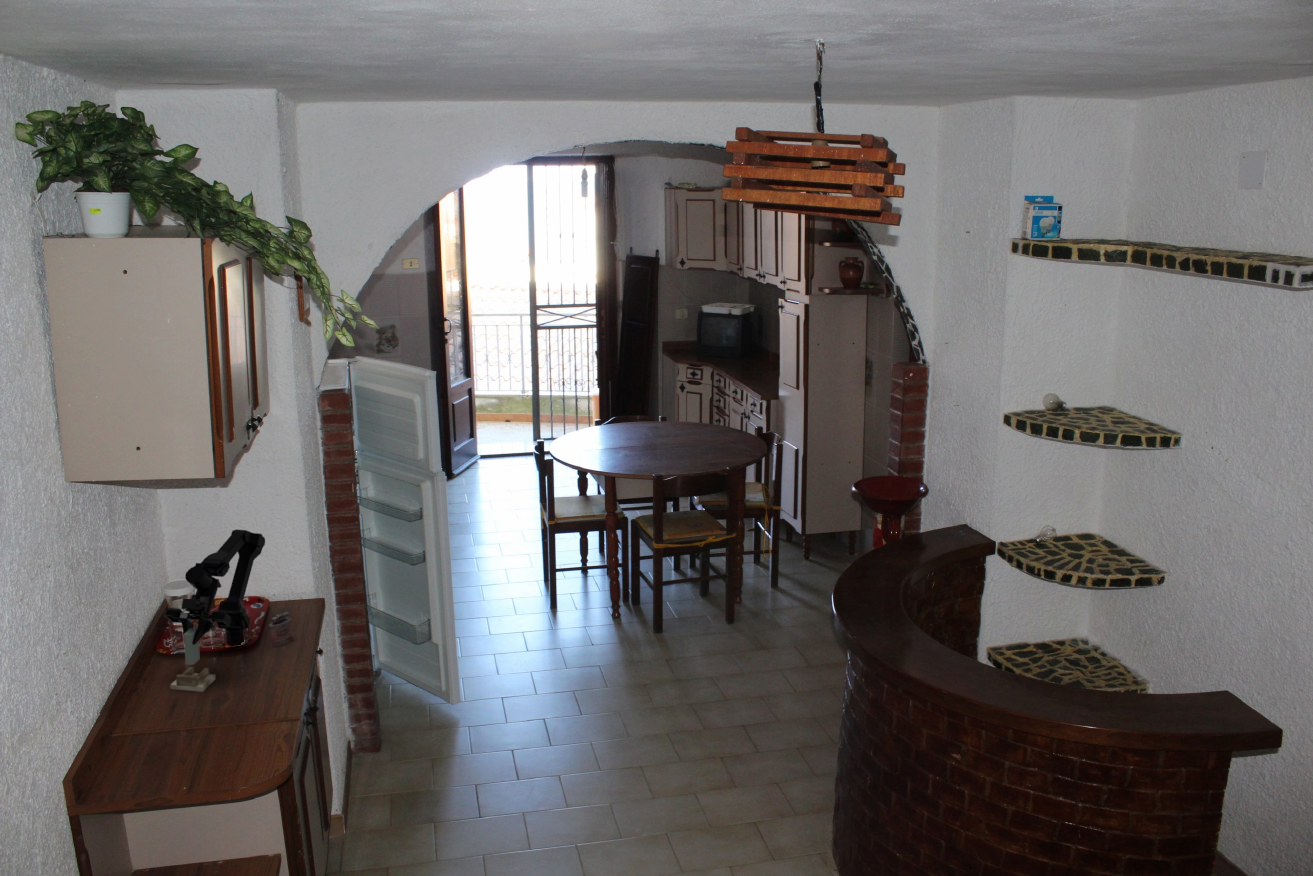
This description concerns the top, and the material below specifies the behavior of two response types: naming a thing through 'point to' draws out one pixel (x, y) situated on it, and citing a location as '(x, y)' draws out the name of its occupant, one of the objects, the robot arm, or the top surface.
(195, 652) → the plank
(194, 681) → the groove base
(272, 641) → the lighter
